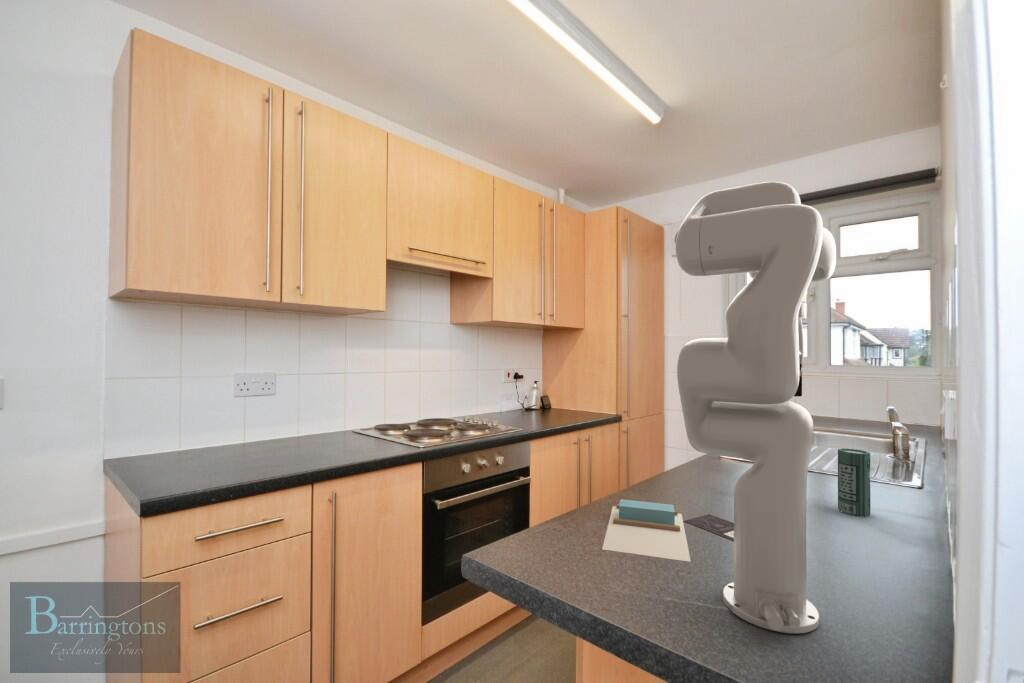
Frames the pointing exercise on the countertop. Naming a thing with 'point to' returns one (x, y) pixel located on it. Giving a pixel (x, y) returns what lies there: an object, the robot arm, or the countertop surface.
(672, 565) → the countertop surface
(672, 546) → the cream base board
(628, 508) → the teal bar on plank
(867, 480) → the can
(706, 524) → the chocolate bar
